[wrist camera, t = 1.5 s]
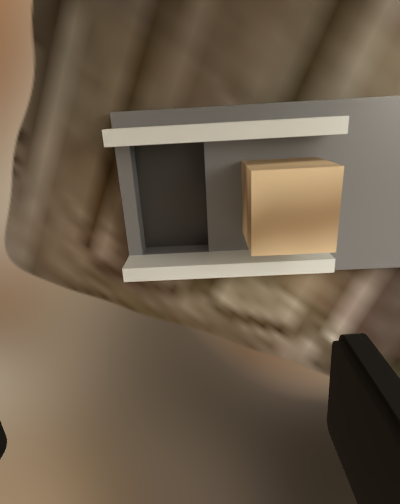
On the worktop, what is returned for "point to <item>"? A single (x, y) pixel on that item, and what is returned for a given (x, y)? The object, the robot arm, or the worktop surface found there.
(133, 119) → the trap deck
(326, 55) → the worktop surface
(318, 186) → the maple block
